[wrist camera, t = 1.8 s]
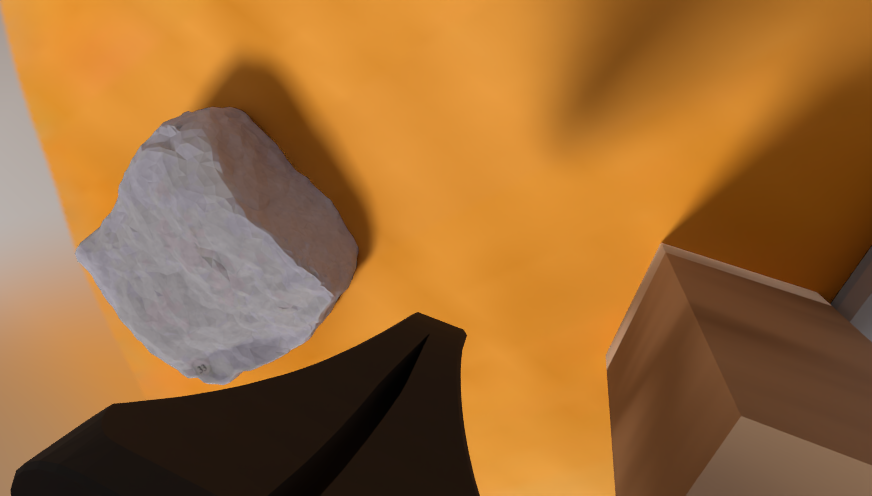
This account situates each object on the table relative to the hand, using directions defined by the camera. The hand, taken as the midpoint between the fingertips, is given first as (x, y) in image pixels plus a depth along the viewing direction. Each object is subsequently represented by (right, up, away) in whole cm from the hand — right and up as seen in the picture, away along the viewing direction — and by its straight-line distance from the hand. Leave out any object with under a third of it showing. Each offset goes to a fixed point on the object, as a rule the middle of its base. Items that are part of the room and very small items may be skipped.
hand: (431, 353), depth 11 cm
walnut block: (+10, 0, +5) cm, 11 cm away
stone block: (-9, +2, +11) cm, 14 cm away
